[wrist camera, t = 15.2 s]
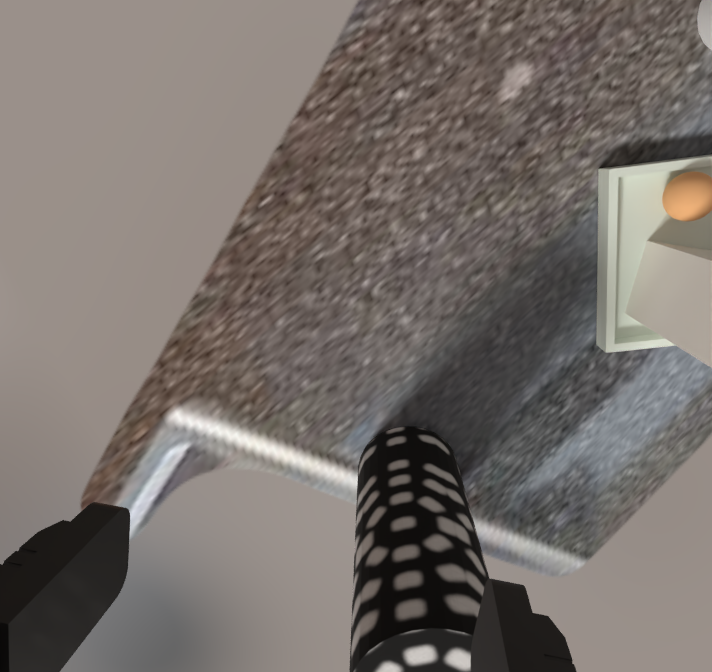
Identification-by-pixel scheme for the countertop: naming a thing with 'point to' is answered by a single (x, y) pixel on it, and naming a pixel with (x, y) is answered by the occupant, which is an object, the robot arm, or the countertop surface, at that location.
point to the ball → (688, 196)
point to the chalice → (705, 22)
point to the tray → (637, 241)
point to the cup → (675, 296)
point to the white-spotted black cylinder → (414, 558)
